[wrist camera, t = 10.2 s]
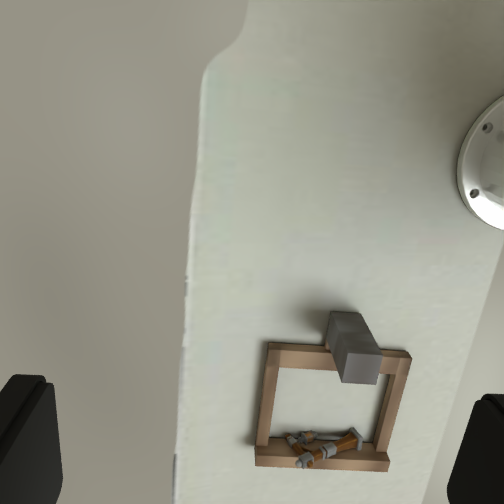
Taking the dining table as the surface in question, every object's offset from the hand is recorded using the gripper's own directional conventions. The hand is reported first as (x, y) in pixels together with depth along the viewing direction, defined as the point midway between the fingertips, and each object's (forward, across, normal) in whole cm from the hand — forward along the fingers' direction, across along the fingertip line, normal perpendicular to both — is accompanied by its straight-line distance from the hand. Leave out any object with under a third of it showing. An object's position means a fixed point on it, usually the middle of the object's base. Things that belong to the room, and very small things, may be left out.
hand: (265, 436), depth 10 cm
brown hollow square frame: (+30, -11, +22) cm, 39 cm away
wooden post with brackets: (+31, -11, +29) cm, 44 cm away
